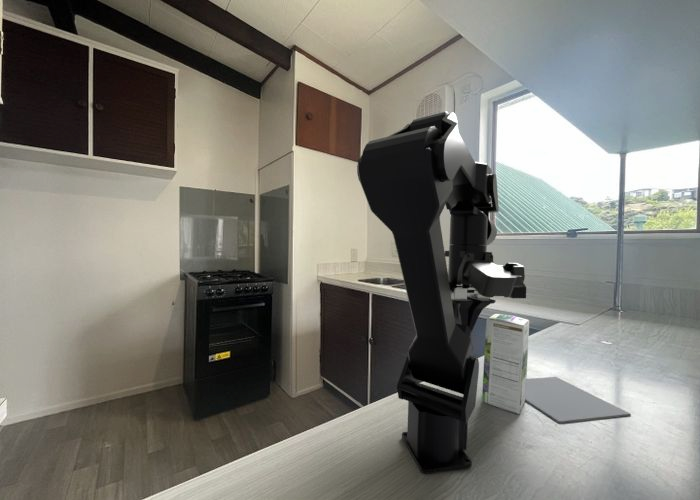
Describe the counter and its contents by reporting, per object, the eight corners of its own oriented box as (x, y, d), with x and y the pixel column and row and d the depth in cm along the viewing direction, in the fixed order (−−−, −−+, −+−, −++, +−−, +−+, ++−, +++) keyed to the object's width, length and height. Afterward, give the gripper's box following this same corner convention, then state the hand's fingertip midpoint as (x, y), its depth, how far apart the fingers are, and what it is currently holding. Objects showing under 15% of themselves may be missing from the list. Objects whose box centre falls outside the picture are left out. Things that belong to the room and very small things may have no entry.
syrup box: (489, 389, 52) (492, 312, 51) (526, 401, 48) (529, 318, 48) (481, 402, 47) (484, 317, 47) (521, 416, 43) (525, 324, 43)
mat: (559, 423, 42) (559, 421, 42) (497, 382, 55) (497, 380, 55) (630, 415, 45) (630, 413, 45) (555, 378, 57) (555, 376, 57)
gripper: (442, 242, 36) (437, 361, 36) (559, 247, 40) (555, 355, 40) (407, 243, 47) (404, 335, 47) (502, 247, 51) (499, 332, 51)
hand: (464, 339), depth 46 cm, fingers closed
